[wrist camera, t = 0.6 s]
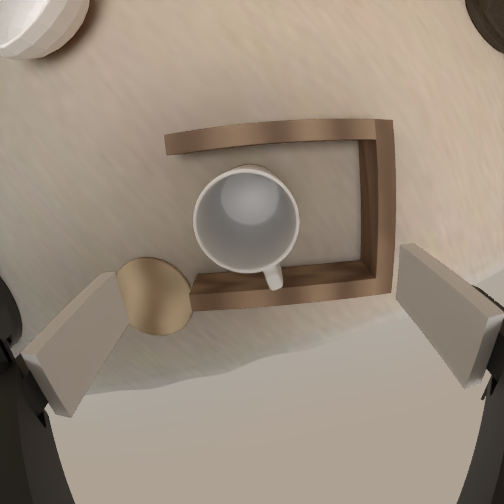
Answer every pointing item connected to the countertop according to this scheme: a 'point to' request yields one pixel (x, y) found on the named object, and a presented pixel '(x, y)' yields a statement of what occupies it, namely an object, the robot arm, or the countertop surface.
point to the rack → (320, 275)
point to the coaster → (154, 296)
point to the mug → (247, 222)
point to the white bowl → (38, 26)
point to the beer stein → (489, 20)
